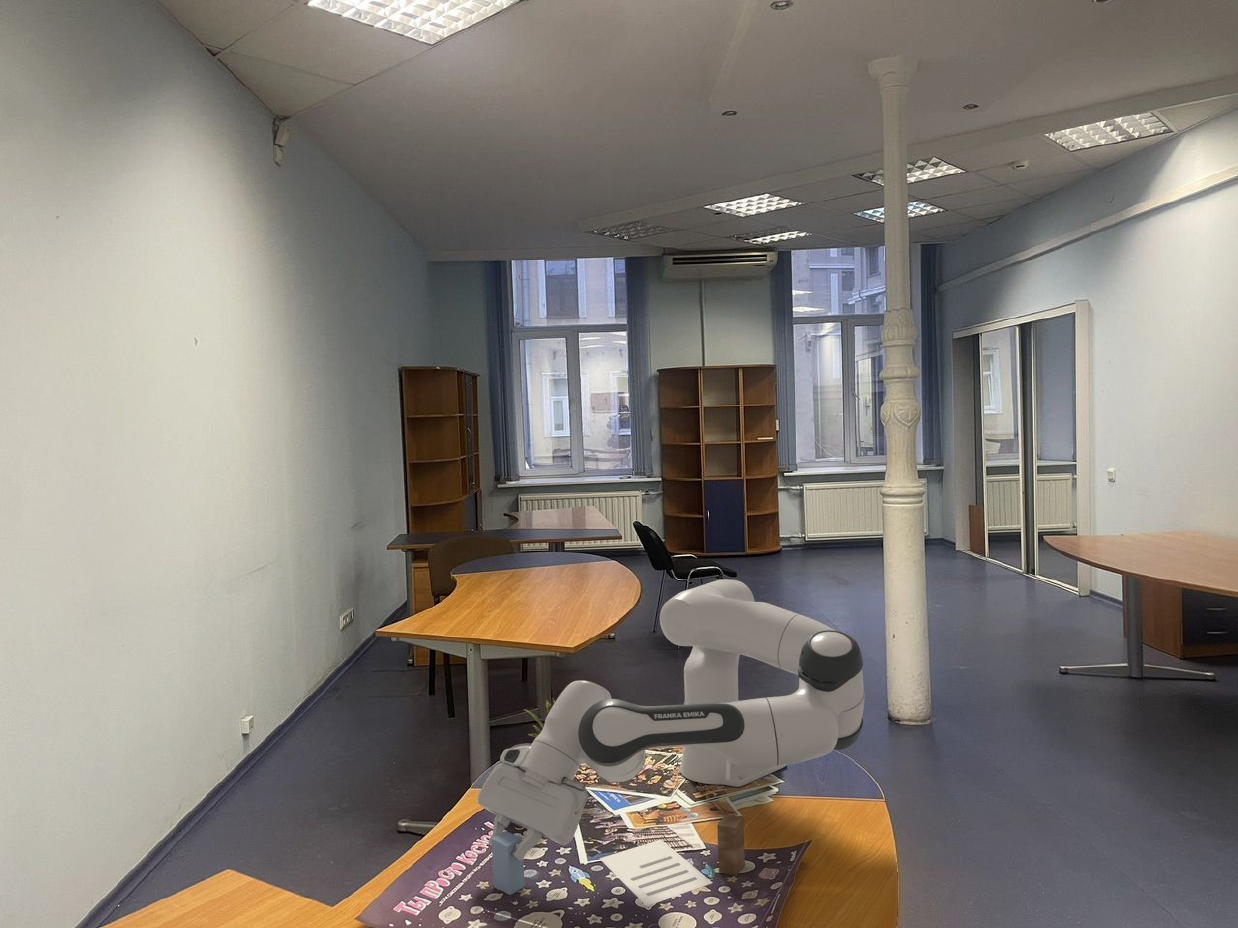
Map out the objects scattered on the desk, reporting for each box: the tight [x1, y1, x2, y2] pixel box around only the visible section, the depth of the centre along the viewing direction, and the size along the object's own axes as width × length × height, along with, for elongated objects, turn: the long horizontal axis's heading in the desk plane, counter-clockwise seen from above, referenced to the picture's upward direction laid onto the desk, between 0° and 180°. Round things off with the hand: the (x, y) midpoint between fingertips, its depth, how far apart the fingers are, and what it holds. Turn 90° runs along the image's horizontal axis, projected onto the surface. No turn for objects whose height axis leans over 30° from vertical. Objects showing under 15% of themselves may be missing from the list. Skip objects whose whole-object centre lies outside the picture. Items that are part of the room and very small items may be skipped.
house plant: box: [522, 696, 556, 739], centre depth 171 cm, size 14×14×16 cm
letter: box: [599, 839, 713, 907], centre depth 135 cm, size 12×16×1 cm
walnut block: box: [716, 813, 746, 877], centre depth 134 cm, size 3×4×8 cm
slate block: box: [490, 830, 526, 896], centre depth 131 cm, size 3×4×8 cm
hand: (504, 852), depth 131 cm, fingers closed on slate block, 4 cm apart
